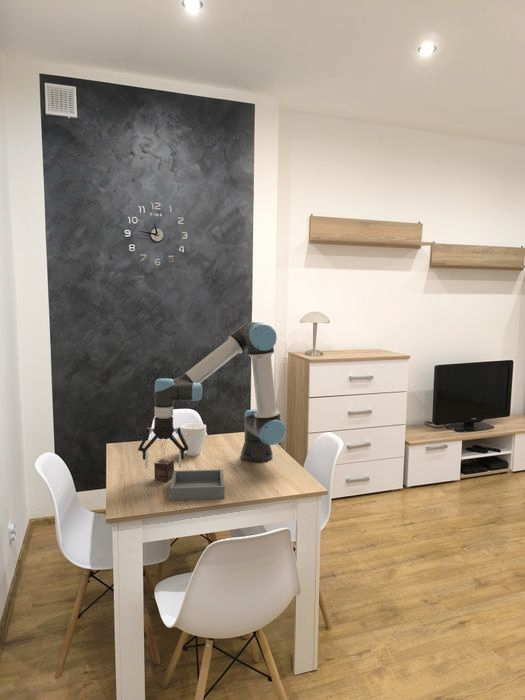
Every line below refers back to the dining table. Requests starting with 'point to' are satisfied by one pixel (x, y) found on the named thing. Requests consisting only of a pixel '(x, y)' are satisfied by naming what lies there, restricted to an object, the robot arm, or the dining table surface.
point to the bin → (197, 485)
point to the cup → (194, 437)
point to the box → (164, 470)
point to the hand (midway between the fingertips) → (163, 467)
